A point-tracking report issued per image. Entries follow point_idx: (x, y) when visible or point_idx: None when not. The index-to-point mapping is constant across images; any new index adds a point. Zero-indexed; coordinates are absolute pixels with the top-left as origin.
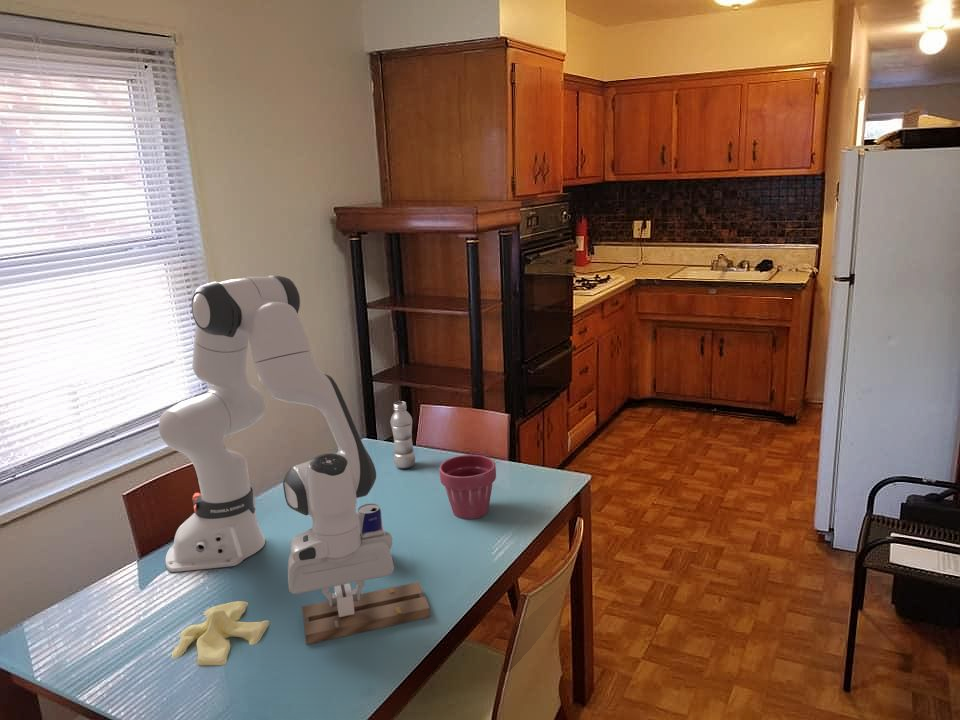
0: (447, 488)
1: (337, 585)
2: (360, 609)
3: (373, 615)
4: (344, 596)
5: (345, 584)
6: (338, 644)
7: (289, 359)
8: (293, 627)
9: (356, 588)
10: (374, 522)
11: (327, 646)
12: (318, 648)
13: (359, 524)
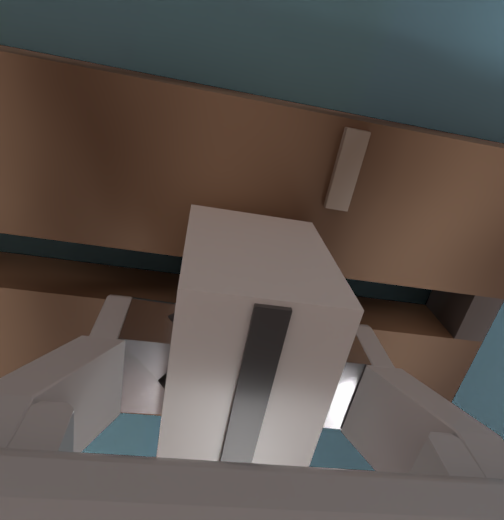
0: None
1: (371, 473)
2: (131, 286)
3: (45, 133)
4: (274, 312)
5: None
6: (366, 26)
7: None
8: (492, 329)
9: (102, 402)
10: None
11: (435, 48)
12: (489, 61)
13: None
